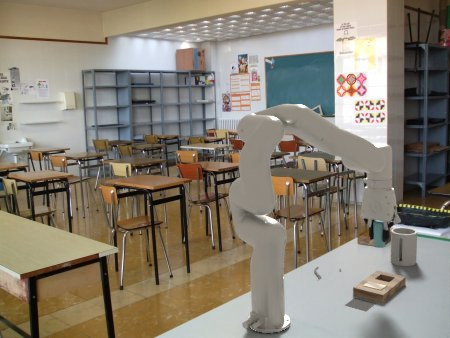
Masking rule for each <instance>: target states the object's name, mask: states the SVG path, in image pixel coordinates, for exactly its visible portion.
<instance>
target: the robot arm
mask: <svg viewBox="0 0 450 338" xmlns="http://www.w3.org/2000/svg"><path fill="white" fill-rule="evenodd" d="M236 132H237V135H238V138H239V139H240V140H241V141H242V142H243V143H244V145H243V147H242V148H241V151H240V152H239V157H238V172H239V177H237V178H236V179H235V180H234V181H233V182H232V183H231V185H230V188H229V191H228V201H229V207H230V212H231V217H232V223H233V227H234V231H235V233H236V235H237V236H238V238H239V239H240V240H241V241H243V242H244V243H246V244H247V245H249V246H251V247H252V248H253V251H252V255H251V258H250V267H249V270H250V295H251V296H250V298H251V300H250V302H251V303H250V304H251V311H250V313H249V315H248V316H247V318H246V320H245V321H242V327H243V329H246V330H247V329H248V328H249V327H250V328H252V329H254V330H256V331H258V332H257V333H259V332H262V333H261V334H266V333H271V334H274V333H273V332H278V333H280V332H279V331H281V330H284V331H286V330H287V329H288V328H290V326H291V317H290V316H289V315H287V314H286V309H285V307H286V305H285V303H286V302H285V267H284V265H285V251H286V245H287V232H286V228H285V227H284V225H283V224H282V223H281V222H280V221H278V220H276V219H274V218H273V217H271V216H268V215H269V214H270V213H272V212H273V210H274V209H275V206H276V195H275V188H274V184H273V183H274V182H273V178H272V172H271V157H272V155H273V153H274V151H275V150H276V148H277V147H278V146H279V144H281V142H282V140H283V138H284V135H285V134H291V135H293V136H295V137H297V138H299V139H300V140H302V141H304V142H306V143H308V145H310V146H312V147H313V148H315V149H317V151H320V152H322V153H325V154H328V155H331V156H335V157H339V158H340V160H341V163H342V165H343V166H344V167H345V168H347V170H348V169H349V170H352V171H355V172H362V173H366V178H363V179H362V181H363V183H364V184H366V186H365V187H364V188H363V192H362V193H363V194H362V199H361V211H360V212H359V215H358V216H359V218H360V219H362V220H363V222H364V223H365V224H366V225H367V227H368V235H369V240H371V241H373V222H374V221H376V220H379V221H383V223H384V230H383V242H385V243H386V242H388V241H389V240H390V239H391V229H392V228H393V226H395V225H397V224H400V223H401V222H402V219H401V217H400V216H399V214H398V209H397V198H396V192H395V188H394V187H393V148H392V146H391V145H390V144H386V143H376V144H375V143H372V142H371V141H370V140H367V139H365V138H363V137H361V136H359V135H357V134H355V133H352V132H350V131H348V130H347V129H344V128H342V127H339V126H338V125H336V124H334V123H332V122H330V120H328V119H326V118H325V117H323V116H321V114H319V113H317V112H316V111H314V110H313V109H311V108H310V107H308V106H306V105H303V104H296V103H295V104H291V103H282V104H279V105H275V106H271V107H268V108H266V109H262V110H259V111H255V112H251V113H249V114H247V115H244V116H243V117H242V118H241V119H240V120H239V121H238V123H237V126H236ZM392 220H393V221H392ZM250 328H249V329H250ZM286 328H287V329H286ZM252 329H251V330H252ZM285 329H286V330H285ZM256 331H255V332H256Z"/></svg>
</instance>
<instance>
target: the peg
mask: <svg viewBox="0 0 450 338" xmlns="http://www.w3.org/2000/svg"><path fill="white" fill-rule="evenodd" d="M383 230H384V223H383V221H379V220H375V221H374V222H373V240H372V241H373V242H372V243H373V247H375V248H381V249H382V248H385V247H386V242H383Z"/></svg>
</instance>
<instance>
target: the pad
mask: <svg viewBox="0 0 450 338" xmlns="http://www.w3.org/2000/svg"><path fill="white" fill-rule="evenodd" d="M376 304H377V302H376V301H375V302H374V301H371V300H367V299H364V298H361V297H360V298H359V297H356V296H355V297H354V298H352V299H351V300H349V302H347V303H346V304H344V306H346V307H349V308H353V309H356V310H360V311H364V312H368V311H369V309H371V308H372V307H374V305H376Z"/></svg>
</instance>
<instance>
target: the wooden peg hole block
mask: <svg viewBox="0 0 450 338" xmlns="http://www.w3.org/2000/svg"><path fill="white" fill-rule="evenodd" d="M406 282H407V280H406V276H403V275H399V274H395V273H389V272H387V271H381V270H376V271H374V272H373V273H372V274H370V275H368V276H367V277H366V278H364V279H363V280H362V281H360V282H359V283H357V284H356V285H355V286H353V288H352V295H353V296H355V297H356V296H357V297H360V298H363V299H364V298H365V299H366V300H367V299H368V300H370V301H371V300H372V301H375V302H379V303H385V302H386V301H387V300H388V299H389V298H391V297H392V296H393V295H394V294H395V293H396V292H398V291H399V290H400V289H401V288H405V286H406Z"/></svg>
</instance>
